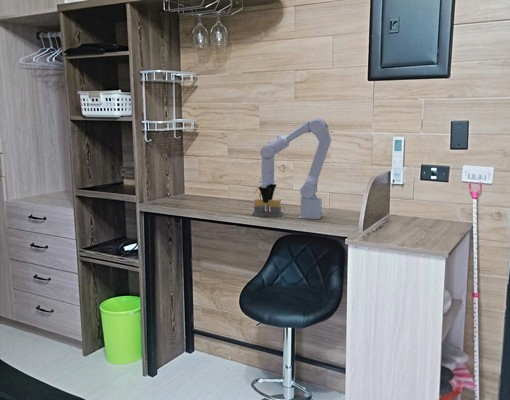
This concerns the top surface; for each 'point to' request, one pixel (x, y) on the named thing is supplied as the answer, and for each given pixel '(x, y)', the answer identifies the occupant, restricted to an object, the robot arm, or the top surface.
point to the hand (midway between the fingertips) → (267, 201)
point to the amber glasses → (272, 203)
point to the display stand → (267, 211)
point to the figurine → (260, 192)
